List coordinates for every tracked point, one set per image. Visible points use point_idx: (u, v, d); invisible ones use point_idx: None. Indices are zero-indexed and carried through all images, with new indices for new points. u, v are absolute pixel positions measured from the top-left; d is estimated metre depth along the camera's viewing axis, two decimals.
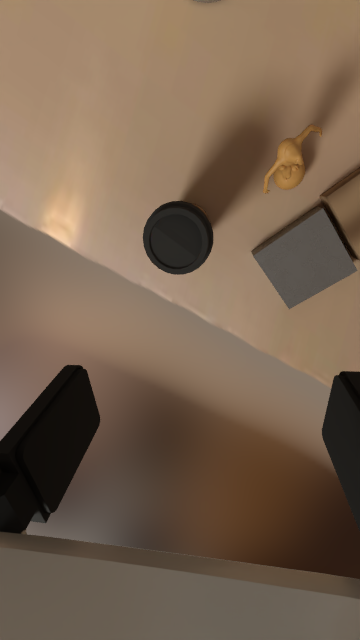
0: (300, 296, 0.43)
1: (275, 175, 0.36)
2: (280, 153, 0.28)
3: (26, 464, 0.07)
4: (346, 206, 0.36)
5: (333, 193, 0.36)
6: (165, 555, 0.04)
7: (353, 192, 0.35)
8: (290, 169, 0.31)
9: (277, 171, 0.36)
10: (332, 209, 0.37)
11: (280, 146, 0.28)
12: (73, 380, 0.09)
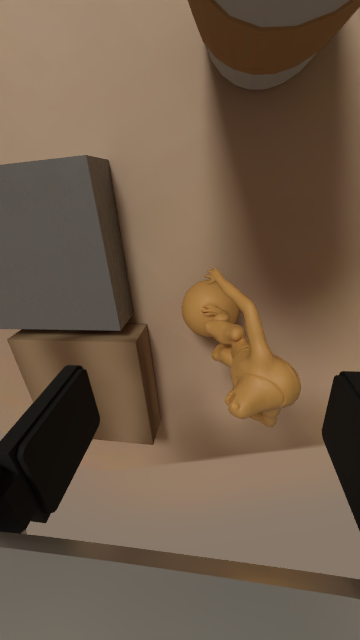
0: None
1: None
2: (280, 371, 0.10)
3: (26, 464, 0.07)
4: (106, 357, 0.21)
5: (135, 352, 0.20)
6: (165, 554, 0.04)
7: (122, 373, 0.21)
8: (219, 341, 0.13)
9: (227, 297, 0.17)
10: (112, 338, 0.20)
11: (295, 380, 0.10)
12: (73, 380, 0.09)
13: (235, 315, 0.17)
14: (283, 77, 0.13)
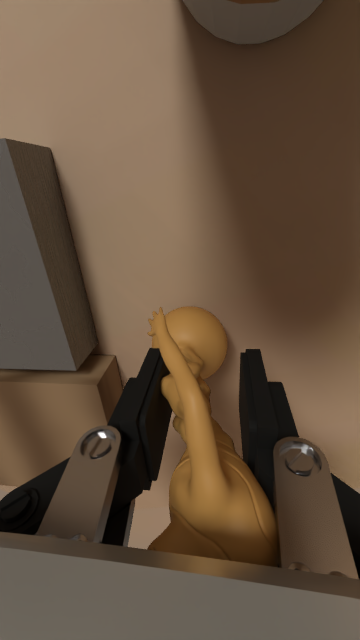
0: None
1: (203, 323, 0.13)
2: (239, 530, 0.05)
3: (145, 432, 0.08)
4: (61, 401, 0.16)
5: (97, 396, 0.16)
6: (165, 555, 0.04)
7: (83, 419, 0.17)
8: (175, 412, 0.09)
9: (208, 334, 0.12)
10: (68, 378, 0.16)
11: (269, 550, 0.05)
12: (162, 361, 0.10)
13: (219, 358, 0.13)
14: (287, 18, 0.08)
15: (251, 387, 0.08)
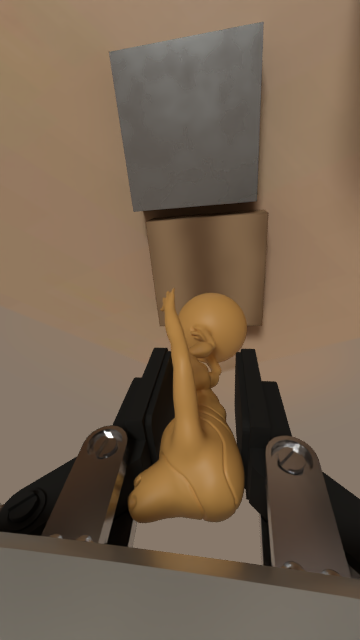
0: (127, 92, 0.21)
1: (224, 309, 0.13)
2: (205, 471, 0.06)
3: (151, 432, 0.08)
4: (237, 232, 0.24)
5: (266, 223, 0.23)
6: (165, 555, 0.04)
7: (248, 247, 0.24)
8: None
9: (227, 319, 0.13)
10: (243, 214, 0.24)
11: (228, 492, 0.06)
12: (167, 360, 0.10)
13: (236, 343, 0.14)
14: None
15: (245, 386, 0.08)
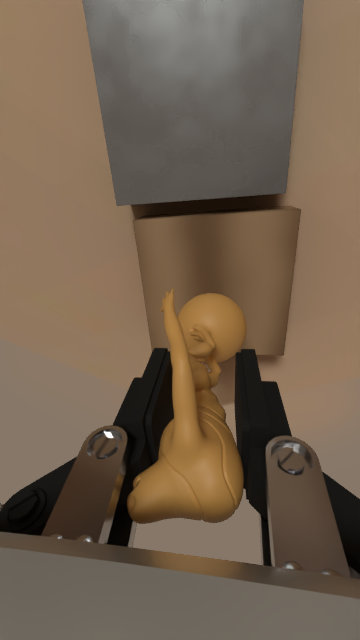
0: (105, 32, 0.14)
1: (223, 309, 0.13)
2: (205, 472, 0.06)
3: (151, 432, 0.08)
4: (256, 235, 0.18)
5: (296, 223, 0.17)
6: (165, 555, 0.04)
7: (271, 256, 0.18)
8: None
9: (227, 320, 0.13)
10: (265, 211, 0.17)
11: (227, 492, 0.06)
12: (167, 361, 0.10)
13: (236, 344, 0.14)
14: None
15: (245, 387, 0.08)
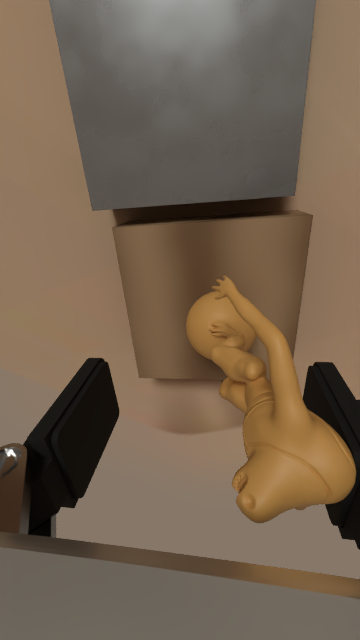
0: None
1: None
2: (324, 449, 0.06)
3: (59, 450, 0.07)
4: (259, 245, 0.15)
5: (307, 232, 0.14)
6: (165, 555, 0.04)
7: (276, 270, 0.15)
8: (229, 376, 0.10)
9: None
10: (270, 217, 0.15)
11: (349, 466, 0.06)
12: (97, 372, 0.10)
13: (253, 337, 0.14)
14: None
15: (340, 409, 0.07)
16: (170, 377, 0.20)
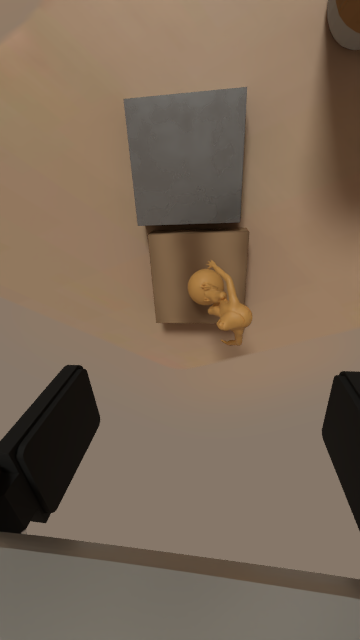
0: (137, 131, 0.25)
1: (214, 274, 0.28)
2: (242, 309, 0.20)
3: (26, 464, 0.07)
4: (223, 246, 0.29)
5: (247, 240, 0.29)
6: (165, 555, 0.04)
7: (233, 259, 0.30)
8: (212, 301, 0.24)
9: (217, 279, 0.28)
10: (229, 231, 0.29)
11: (249, 313, 0.21)
12: (73, 380, 0.09)
13: (221, 291, 0.28)
14: None
15: None
16: (175, 322, 0.34)
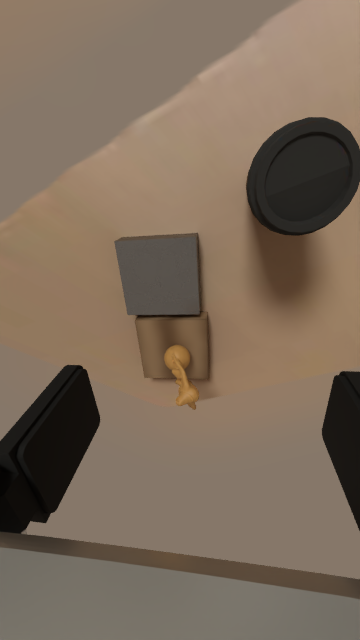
0: (124, 259, 0.37)
1: (182, 351, 0.39)
2: (191, 391, 0.32)
3: (26, 464, 0.07)
4: (189, 328, 0.40)
5: (205, 325, 0.40)
6: (165, 555, 0.04)
7: (197, 337, 0.41)
8: (177, 377, 0.35)
9: (184, 355, 0.39)
10: (193, 319, 0.40)
11: (196, 394, 0.32)
12: (73, 380, 0.09)
13: (187, 362, 0.40)
14: None
15: None
16: (158, 377, 0.45)
